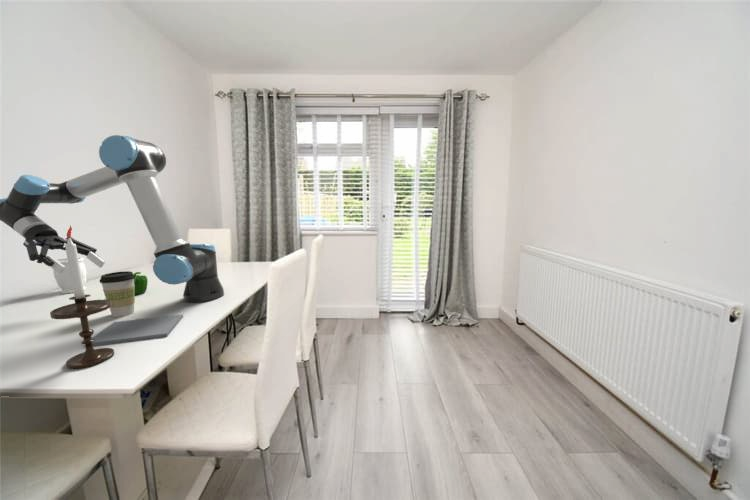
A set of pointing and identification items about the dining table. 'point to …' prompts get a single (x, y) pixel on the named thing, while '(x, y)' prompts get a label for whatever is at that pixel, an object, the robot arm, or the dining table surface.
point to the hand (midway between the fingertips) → (83, 267)
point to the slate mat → (137, 330)
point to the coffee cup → (119, 292)
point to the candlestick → (82, 314)
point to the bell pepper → (140, 283)
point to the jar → (69, 276)
